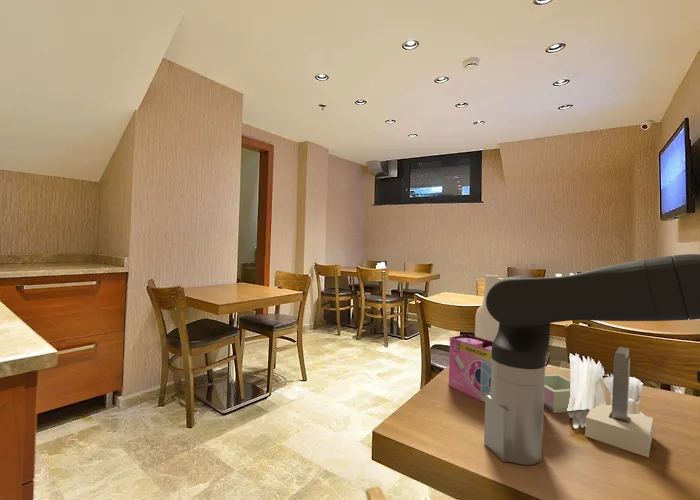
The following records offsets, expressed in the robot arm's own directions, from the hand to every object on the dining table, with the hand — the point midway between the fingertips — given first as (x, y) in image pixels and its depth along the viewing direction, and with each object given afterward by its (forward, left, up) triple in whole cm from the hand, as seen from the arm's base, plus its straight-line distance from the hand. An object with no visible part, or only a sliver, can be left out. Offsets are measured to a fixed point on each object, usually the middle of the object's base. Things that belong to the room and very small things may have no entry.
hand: (699, 370), depth 64 cm
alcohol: (-12, +47, -17) cm, 51 cm away
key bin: (-7, +26, -17) cm, 32 cm away
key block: (-6, +10, -17) cm, 21 cm away
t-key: (-6, +10, -17) cm, 21 cm away
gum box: (-22, +30, -17) cm, 41 cm away
